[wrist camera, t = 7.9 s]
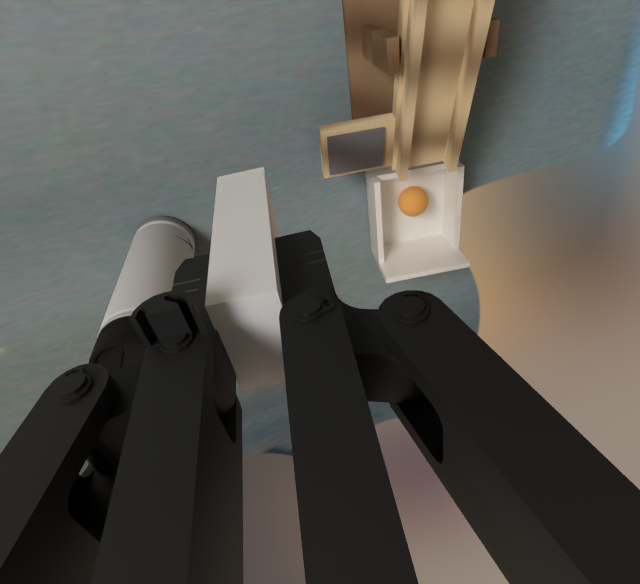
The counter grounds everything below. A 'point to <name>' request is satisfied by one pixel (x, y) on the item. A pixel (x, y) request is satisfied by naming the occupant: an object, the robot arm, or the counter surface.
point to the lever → (418, 93)
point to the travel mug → (141, 287)
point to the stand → (380, 53)
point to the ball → (413, 201)
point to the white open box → (416, 222)
